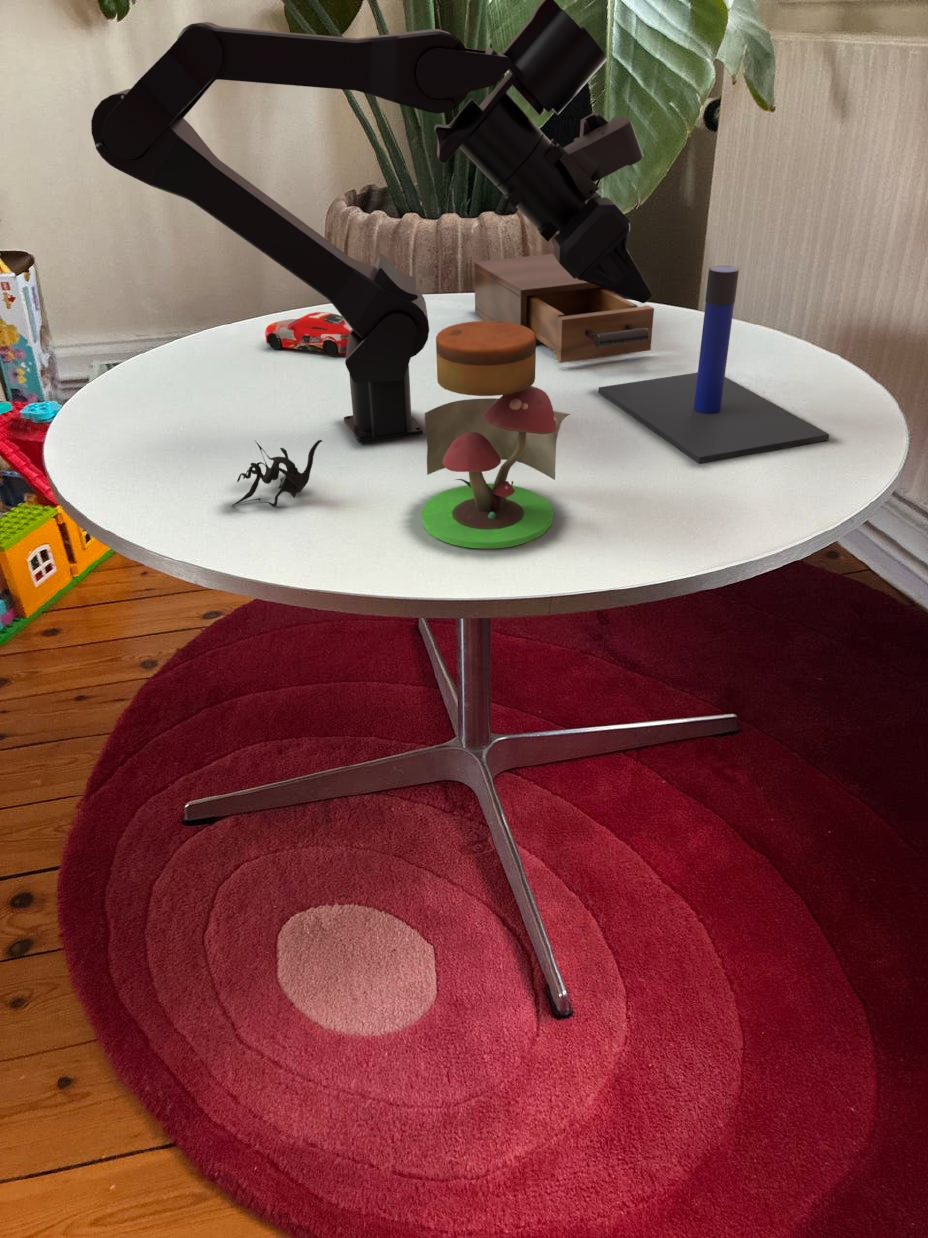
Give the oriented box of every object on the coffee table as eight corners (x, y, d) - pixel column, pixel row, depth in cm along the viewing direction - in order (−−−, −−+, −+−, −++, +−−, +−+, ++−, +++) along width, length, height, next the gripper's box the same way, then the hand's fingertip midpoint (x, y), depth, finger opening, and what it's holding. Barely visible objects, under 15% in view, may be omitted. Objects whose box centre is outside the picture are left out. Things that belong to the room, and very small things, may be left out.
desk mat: (828, 439, 91) (829, 433, 91) (698, 463, 87) (699, 457, 87) (712, 375, 107) (713, 369, 107) (598, 392, 103) (598, 387, 103)
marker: (717, 415, 95) (736, 273, 88) (690, 411, 96) (706, 270, 89) (723, 406, 97) (741, 266, 90) (696, 402, 98) (712, 264, 91)
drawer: (667, 360, 109) (672, 316, 106) (575, 373, 106) (577, 329, 103) (594, 317, 123) (596, 278, 121) (511, 328, 120) (511, 288, 118)
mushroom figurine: (582, 548, 74) (593, 354, 66) (418, 556, 74) (408, 362, 66) (559, 483, 84) (565, 307, 76) (414, 489, 84) (405, 313, 76)
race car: (257, 348, 119) (252, 315, 116) (282, 336, 123) (278, 303, 121) (351, 360, 114) (347, 325, 112) (373, 346, 118) (370, 313, 116)
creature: (214, 516, 83) (281, 518, 78) (193, 456, 80) (262, 454, 76) (275, 482, 88) (341, 482, 84) (258, 425, 86) (325, 422, 81)
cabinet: (613, 333, 121) (617, 278, 117) (520, 345, 117) (520, 289, 114) (560, 302, 133) (562, 252, 129) (474, 313, 130) (474, 261, 126)
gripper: (609, 90, 73) (735, 240, 79) (569, 73, 88) (678, 199, 95) (504, 207, 77) (633, 340, 83) (484, 171, 92) (594, 285, 99)
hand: (636, 285), depth 90 cm, fingers open, 9 cm apart
